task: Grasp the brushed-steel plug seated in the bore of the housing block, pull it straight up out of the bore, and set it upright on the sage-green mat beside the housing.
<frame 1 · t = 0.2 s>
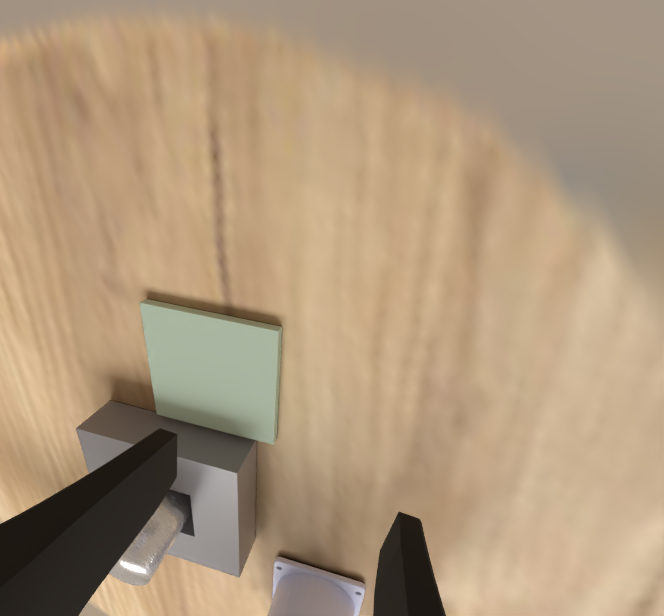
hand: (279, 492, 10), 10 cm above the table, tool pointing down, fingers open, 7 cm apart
mat: (215, 372, 22), on the table
plug: (158, 513, 25), in the housing
housing: (187, 473, 28), on the table
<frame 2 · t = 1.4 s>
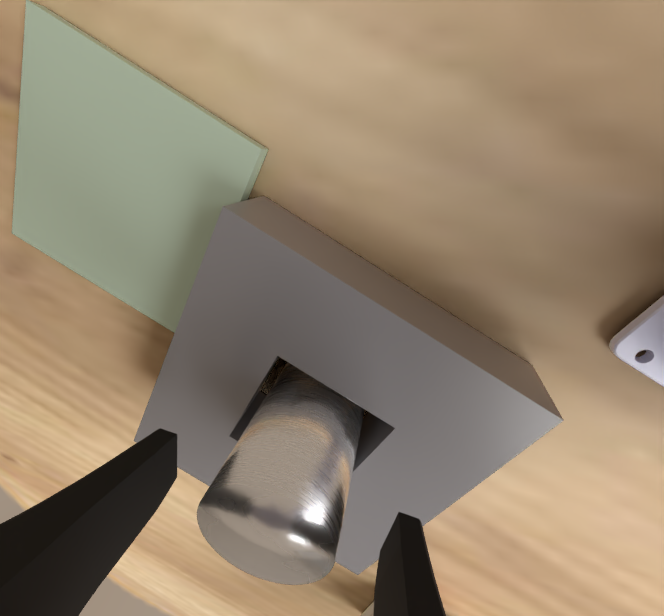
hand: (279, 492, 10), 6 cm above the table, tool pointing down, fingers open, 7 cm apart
mat: (130, 195, 14), on the table
plug: (301, 441, 12), in the housing
housing: (324, 384, 15), on the table
skincare box: (414, 615, 22), on the table
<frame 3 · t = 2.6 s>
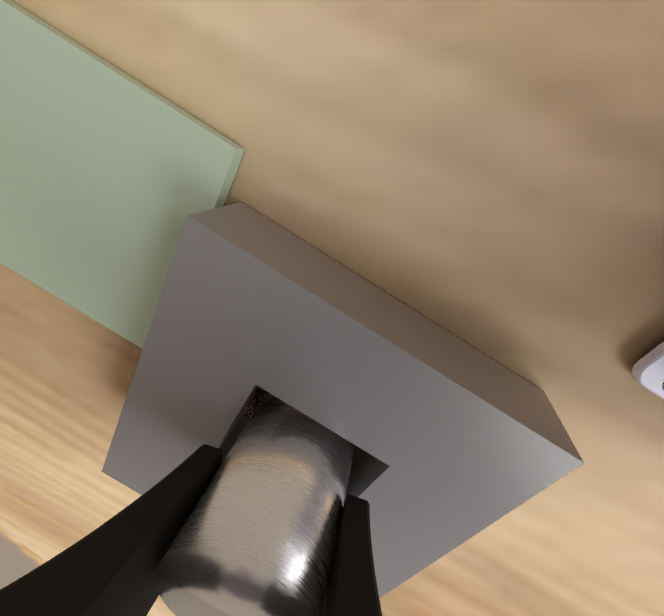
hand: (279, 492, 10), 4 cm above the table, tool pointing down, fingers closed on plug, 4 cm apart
mat: (93, 201, 12), on the table
plug: (284, 480, 11), in the housing, touching gripper
housing: (312, 408, 14), on the table
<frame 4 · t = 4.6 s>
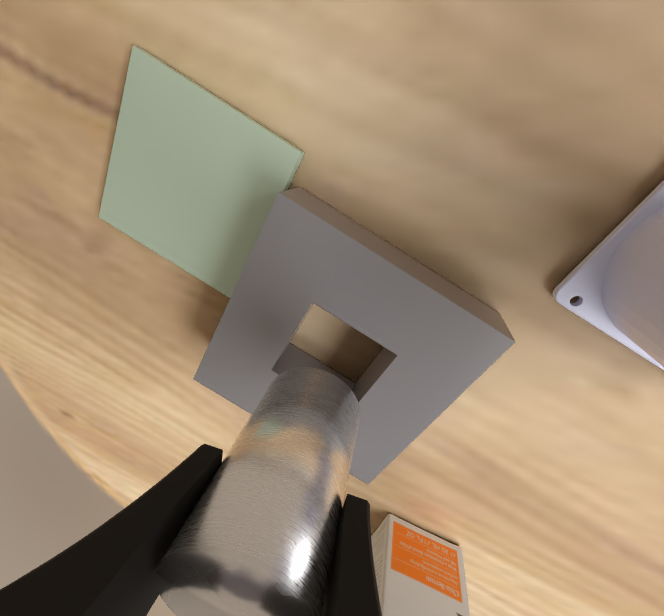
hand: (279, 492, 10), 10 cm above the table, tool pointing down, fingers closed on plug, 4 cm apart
mat: (195, 187, 18), on the table
plug: (284, 479, 11), point 10 cm above the table, touching gripper
housing: (341, 335, 20), on the table
skincare box: (412, 539, 26), on the table
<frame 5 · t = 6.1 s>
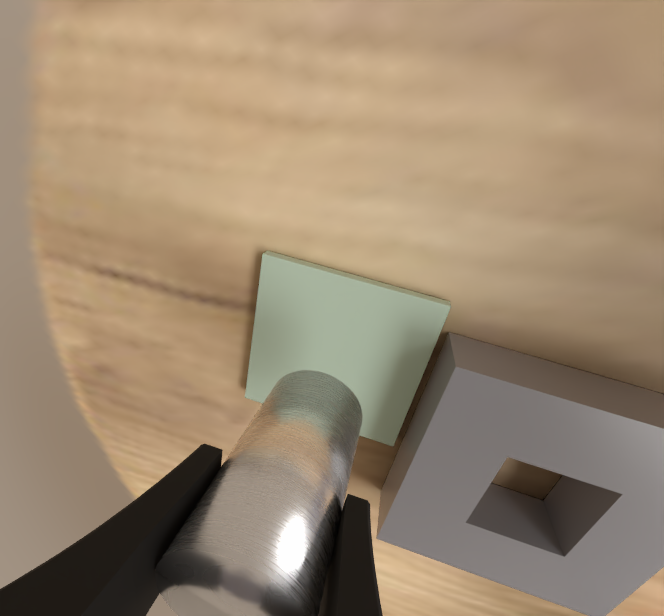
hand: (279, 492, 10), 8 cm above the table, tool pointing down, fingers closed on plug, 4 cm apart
mat: (335, 352, 18), on the table
plug: (284, 481, 11), point 8 cm above the table, touching gripper
housing: (519, 457, 18), on the table
when the fingers open (6 cm above the table, at t = 7.0 s): plug stays where it is, resting on mat.
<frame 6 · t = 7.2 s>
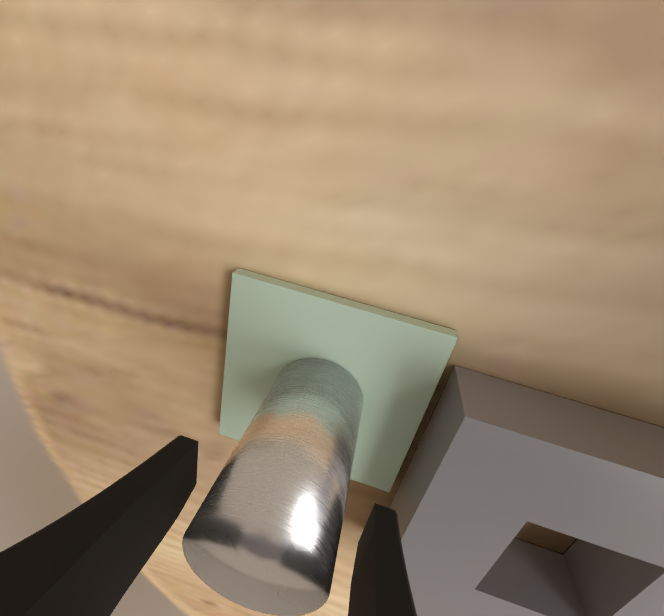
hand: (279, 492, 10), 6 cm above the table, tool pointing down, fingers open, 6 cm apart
mat: (322, 385, 15), on the table
plug: (294, 459, 12), on the mat, point 4 cm above the table
housing: (536, 507, 16), on the table
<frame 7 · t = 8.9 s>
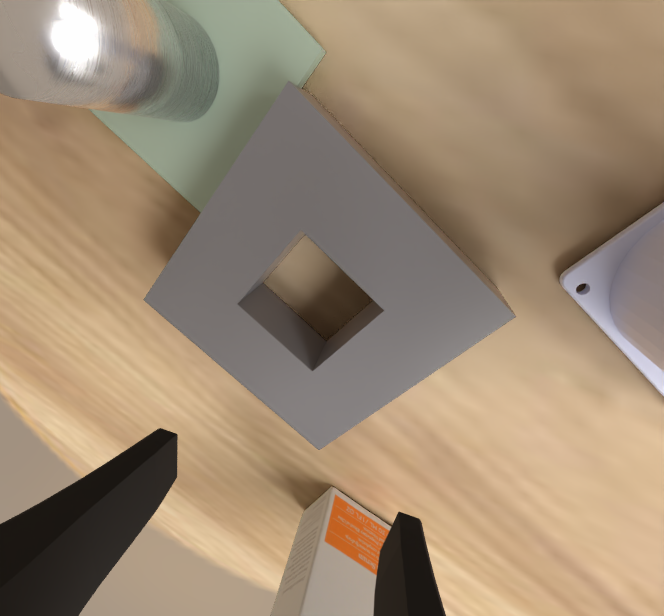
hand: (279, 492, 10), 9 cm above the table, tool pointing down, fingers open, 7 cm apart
mat: (186, 69, 15), on the table
plug: (110, 45, 11), on the mat, point 4 cm above the table
housing: (323, 284, 18), on the table
skincare box: (349, 515, 25), on the table
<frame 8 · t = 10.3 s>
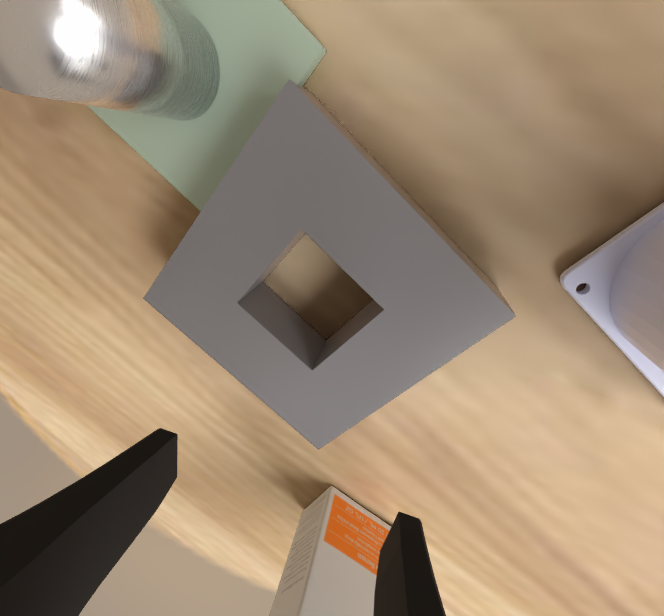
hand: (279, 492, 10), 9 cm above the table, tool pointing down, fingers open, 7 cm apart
mat: (186, 67, 15), on the table
plug: (112, 42, 11), on the mat, point 4 cm above the table
housing: (323, 283, 18), on the table
skincare box: (349, 515, 25), on the table
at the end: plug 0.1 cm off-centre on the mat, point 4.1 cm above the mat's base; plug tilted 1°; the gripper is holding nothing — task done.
